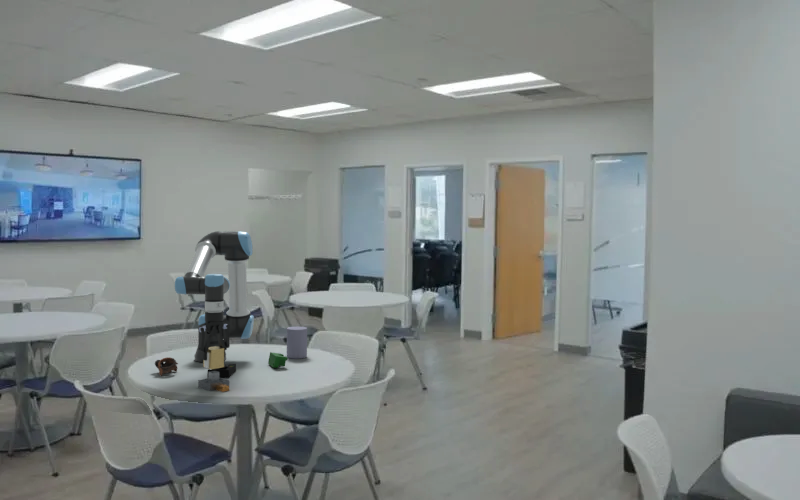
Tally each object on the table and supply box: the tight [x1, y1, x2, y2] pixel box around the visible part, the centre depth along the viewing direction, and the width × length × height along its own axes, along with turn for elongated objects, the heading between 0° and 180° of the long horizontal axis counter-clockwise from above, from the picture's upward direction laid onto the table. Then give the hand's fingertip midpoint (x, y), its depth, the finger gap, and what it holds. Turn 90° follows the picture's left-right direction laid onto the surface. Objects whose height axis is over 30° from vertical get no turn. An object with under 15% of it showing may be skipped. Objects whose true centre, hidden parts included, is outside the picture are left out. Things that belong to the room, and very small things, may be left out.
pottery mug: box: [154, 357, 179, 377], centre depth 287 cm, size 12×9×8 cm
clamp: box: [267, 351, 288, 369], centre depth 307 cm, size 12×6×9 cm, turn 21°
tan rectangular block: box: [202, 346, 225, 370], centre depth 266 cm, size 6×6×8 cm
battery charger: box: [206, 363, 237, 379], centre depth 289 cm, size 13×10×4 cm
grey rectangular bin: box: [197, 371, 230, 393], centre depth 265 cm, size 14×9×6 cm, turn 48°
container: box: [286, 326, 308, 360], centre depth 329 cm, size 10×10×15 cm
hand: (213, 366), depth 266 cm, fingers closed on tan rectangular block, 6 cm apart
